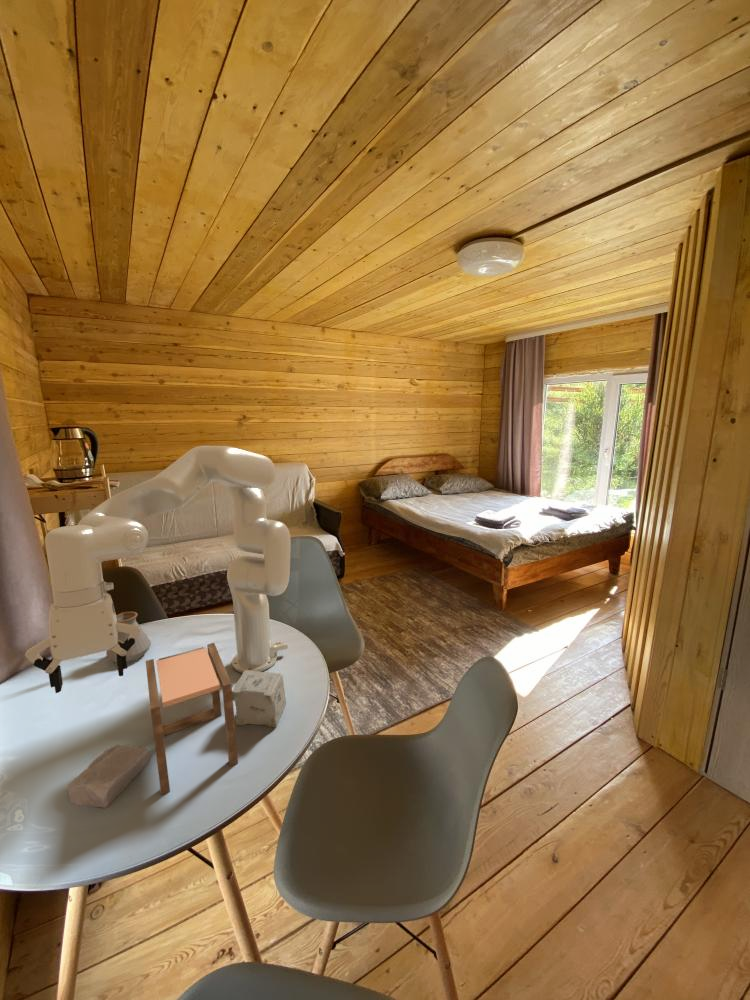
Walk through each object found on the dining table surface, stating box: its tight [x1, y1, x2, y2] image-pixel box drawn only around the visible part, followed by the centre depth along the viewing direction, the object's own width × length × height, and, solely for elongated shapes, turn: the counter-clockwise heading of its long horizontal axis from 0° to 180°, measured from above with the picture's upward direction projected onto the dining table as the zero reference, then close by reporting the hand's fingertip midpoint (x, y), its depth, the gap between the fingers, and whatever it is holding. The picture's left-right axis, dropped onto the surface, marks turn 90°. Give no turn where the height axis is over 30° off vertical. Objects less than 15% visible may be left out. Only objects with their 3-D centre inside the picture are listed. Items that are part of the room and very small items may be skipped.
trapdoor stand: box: [145, 642, 239, 796], centre depth 86 cm, size 14×18×18 cm
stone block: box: [67, 743, 151, 809], centre depth 80 cm, size 12×5×10 cm
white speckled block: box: [232, 670, 287, 728], centre depth 96 cm, size 10×8×10 cm
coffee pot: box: [105, 611, 152, 664], centre depth 119 cm, size 21×12×15 cm, turn 130°
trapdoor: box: [156, 646, 221, 708], centre depth 86 cm, size 10×18×3 cm, turn 31°
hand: (91, 680), depth 77 cm, fingers open, 9 cm apart
